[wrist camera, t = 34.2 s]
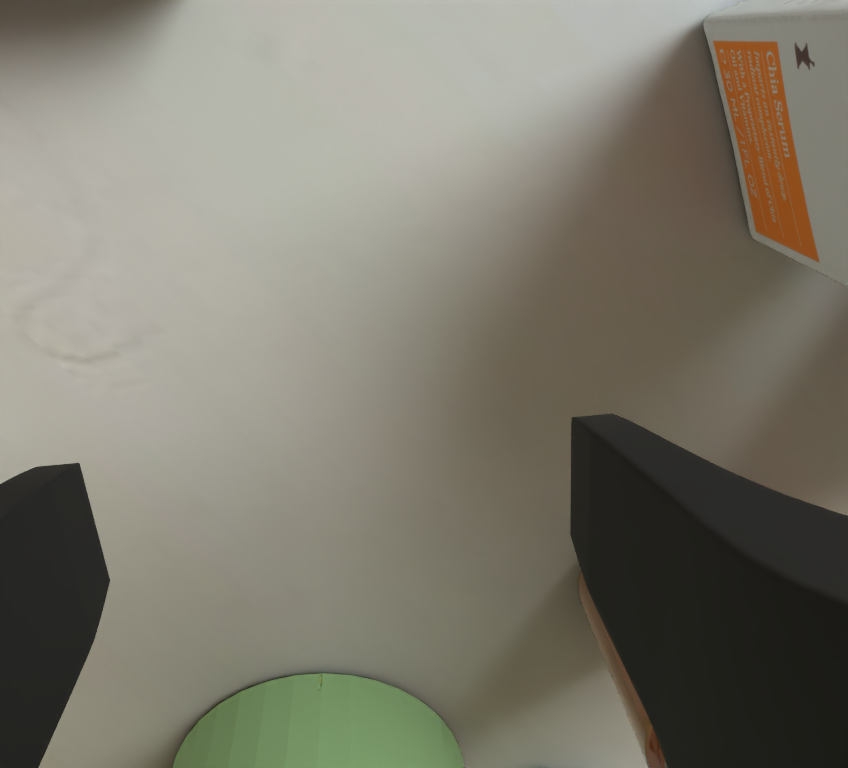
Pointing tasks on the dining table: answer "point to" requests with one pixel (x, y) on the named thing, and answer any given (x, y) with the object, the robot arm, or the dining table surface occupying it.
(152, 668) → the dining table surface
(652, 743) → the jar
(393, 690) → the mug
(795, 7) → the cosmetic box
